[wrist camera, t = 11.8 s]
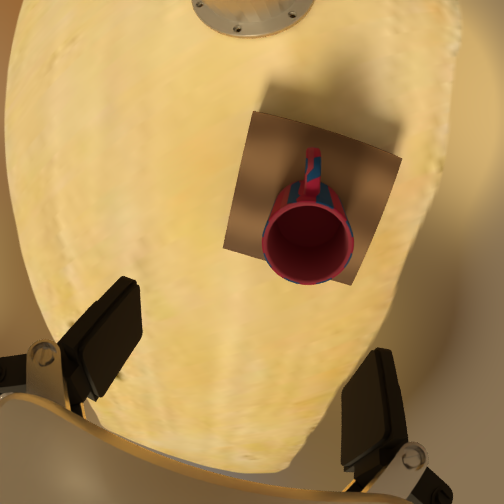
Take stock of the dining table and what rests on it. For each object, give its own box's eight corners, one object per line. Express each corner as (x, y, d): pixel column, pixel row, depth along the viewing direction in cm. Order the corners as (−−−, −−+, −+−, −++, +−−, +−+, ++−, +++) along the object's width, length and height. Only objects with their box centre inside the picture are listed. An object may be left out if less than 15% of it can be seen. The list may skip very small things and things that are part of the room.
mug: (268, 239, 28) (256, 276, 22) (283, 137, 23) (275, 144, 17) (334, 252, 27) (340, 292, 21) (357, 152, 22) (375, 164, 16)
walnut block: (260, 112, 26) (253, 110, 22) (390, 153, 25) (402, 158, 22) (232, 233, 33) (222, 248, 29) (347, 267, 32) (351, 285, 28)
